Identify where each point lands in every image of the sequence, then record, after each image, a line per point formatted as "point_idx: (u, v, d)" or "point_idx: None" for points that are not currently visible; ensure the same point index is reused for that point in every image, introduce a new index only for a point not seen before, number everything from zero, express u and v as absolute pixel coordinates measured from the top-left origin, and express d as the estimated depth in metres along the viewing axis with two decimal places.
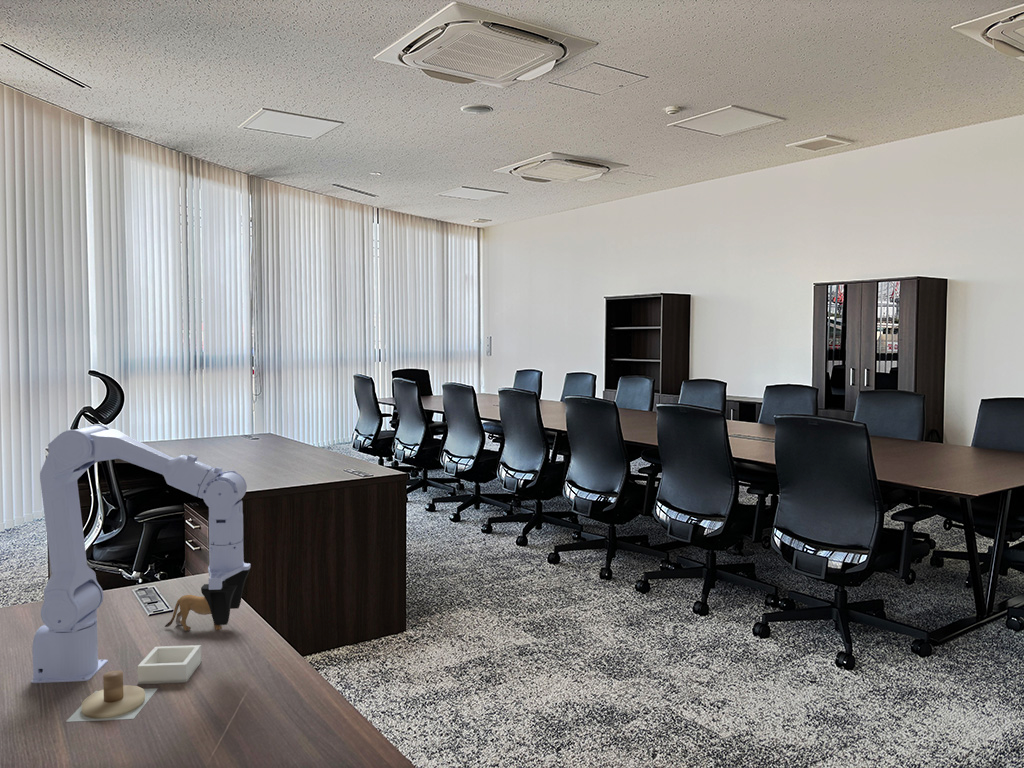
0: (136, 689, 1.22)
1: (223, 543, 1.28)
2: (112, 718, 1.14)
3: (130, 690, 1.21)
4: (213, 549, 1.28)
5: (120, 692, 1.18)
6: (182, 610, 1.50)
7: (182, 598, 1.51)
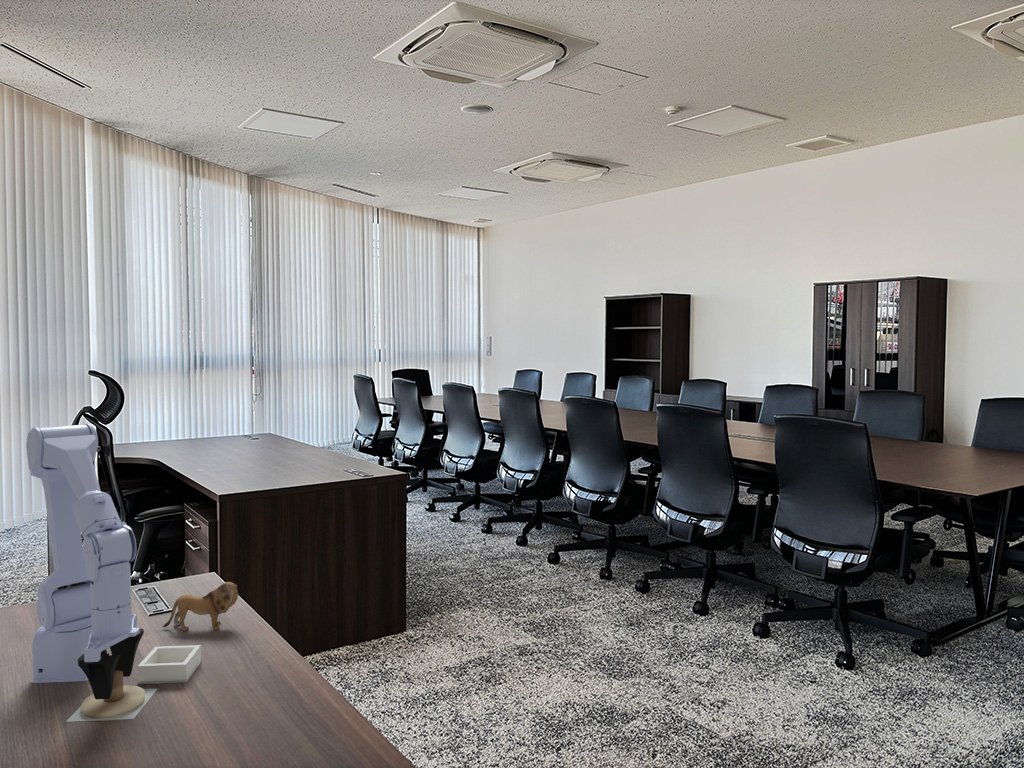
0: (136, 689, 1.22)
1: (92, 607, 1.15)
2: (112, 718, 1.14)
3: (130, 690, 1.21)
4: (94, 614, 1.15)
5: (120, 692, 1.18)
6: (180, 610, 1.50)
7: (180, 598, 1.51)
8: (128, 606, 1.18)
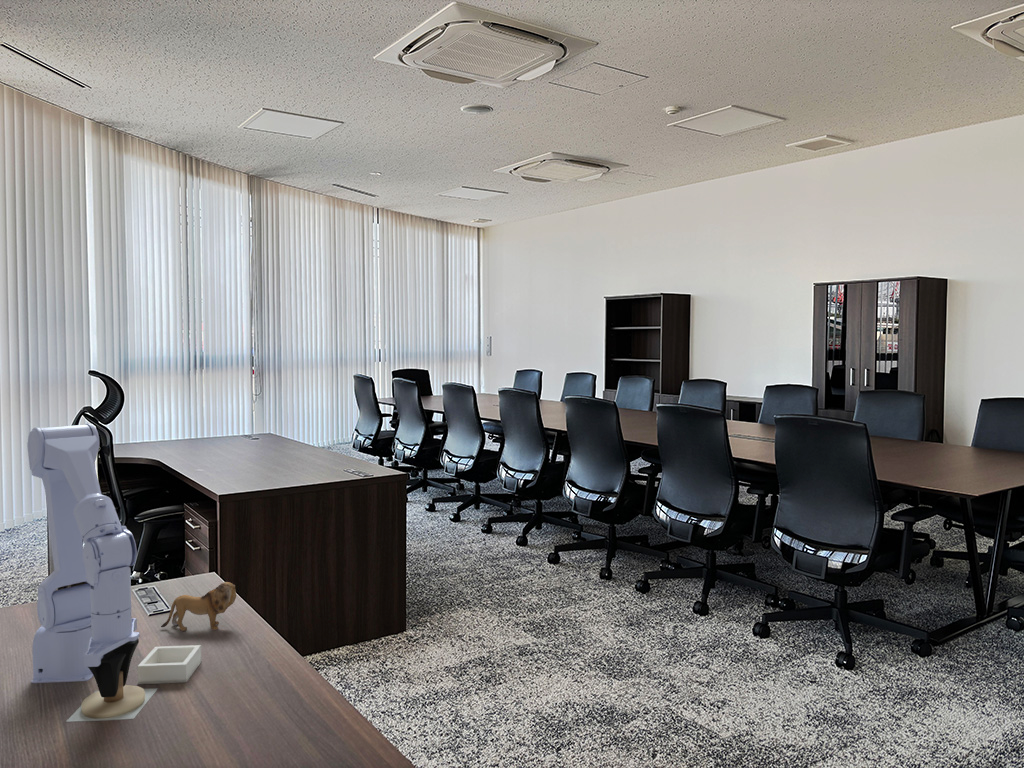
0: (136, 689, 1.22)
1: (93, 611, 1.15)
2: (112, 718, 1.14)
3: (130, 690, 1.21)
4: (94, 619, 1.15)
5: (120, 692, 1.18)
6: (178, 610, 1.50)
7: (178, 598, 1.50)
8: (128, 610, 1.18)
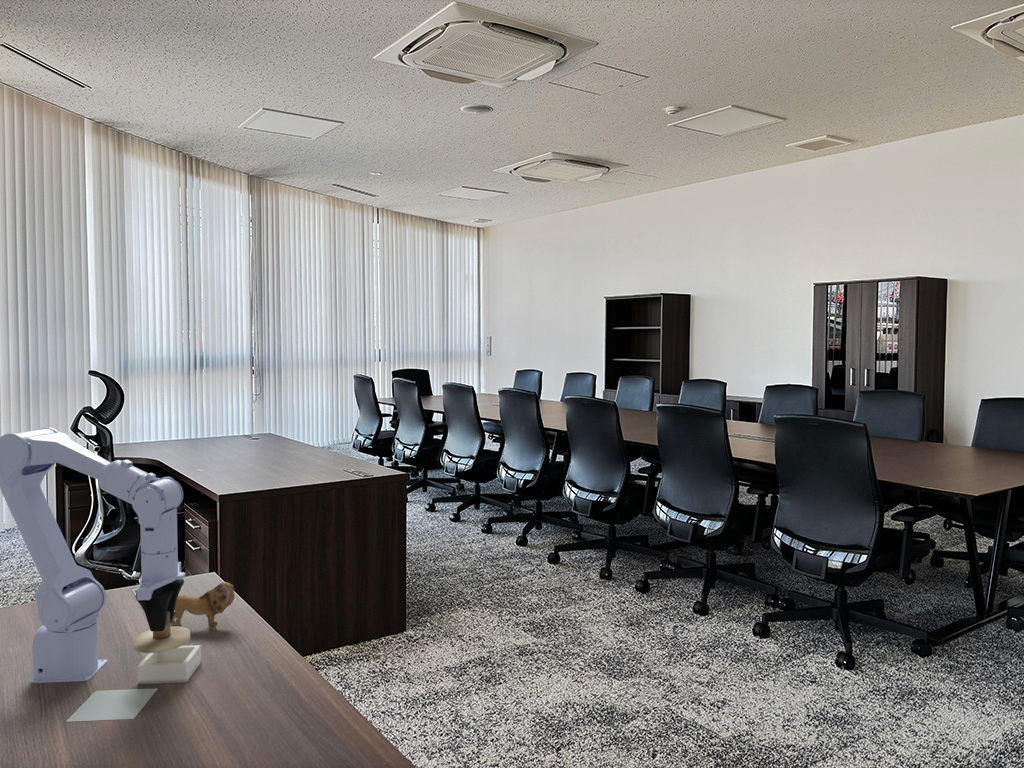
0: (181, 628, 1.31)
1: (151, 552, 1.24)
2: (112, 718, 1.14)
3: (175, 629, 1.31)
4: (144, 558, 1.24)
5: (168, 630, 1.27)
6: (177, 610, 1.50)
7: None
8: (175, 551, 1.27)
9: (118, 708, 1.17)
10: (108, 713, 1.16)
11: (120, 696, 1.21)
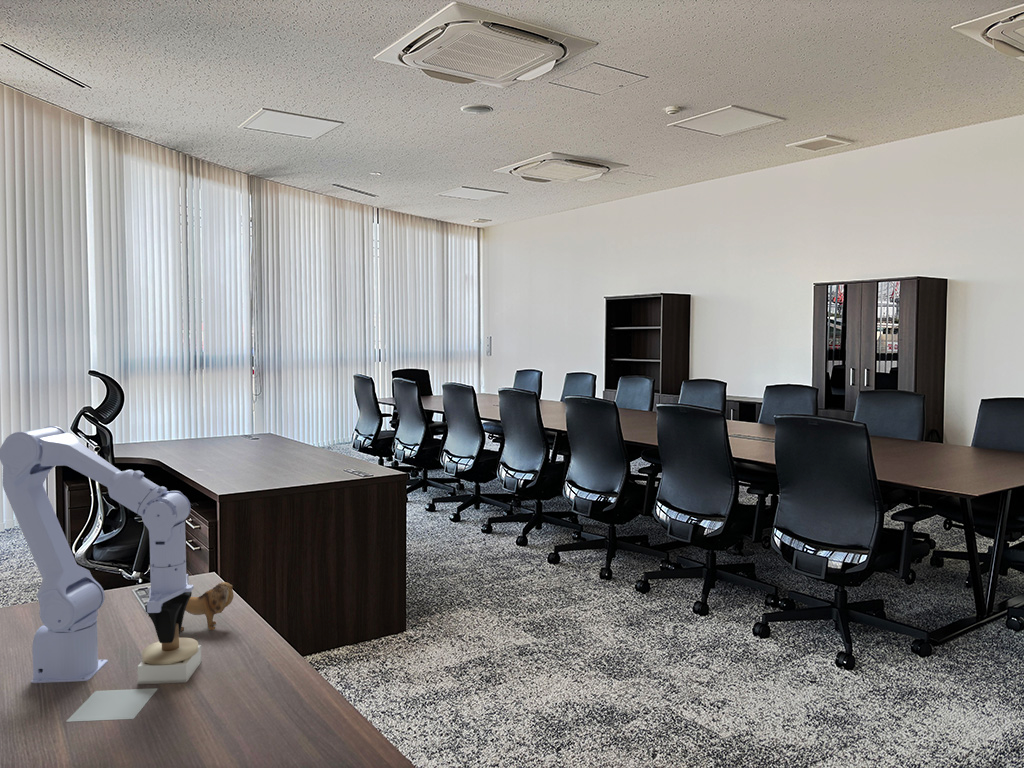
0: (189, 640, 1.33)
1: (162, 565, 1.26)
2: (112, 718, 1.14)
3: (183, 641, 1.33)
4: (154, 571, 1.26)
5: (177, 642, 1.29)
6: None
7: None
8: (184, 564, 1.29)
9: (118, 708, 1.17)
10: (108, 713, 1.16)
11: (120, 696, 1.21)
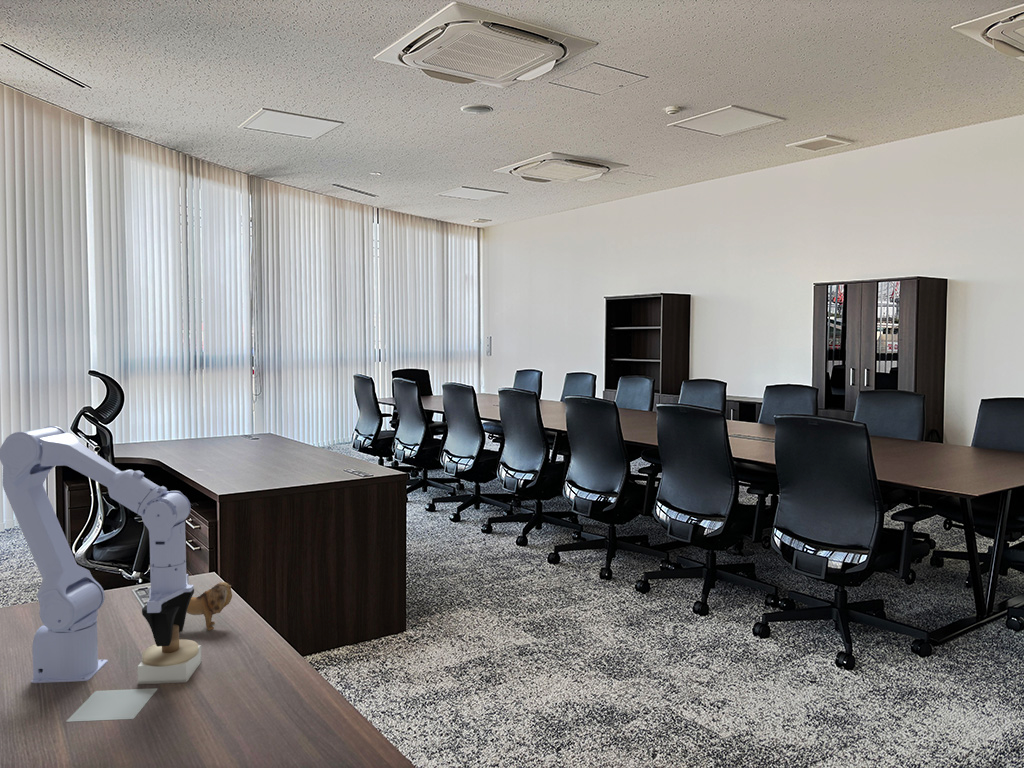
0: (189, 642, 1.33)
1: (162, 565, 1.26)
2: (112, 718, 1.14)
3: (183, 643, 1.33)
4: (154, 571, 1.26)
5: (177, 644, 1.29)
6: None
7: None
8: (184, 564, 1.29)
9: (118, 708, 1.17)
10: (108, 713, 1.16)
11: (120, 696, 1.21)
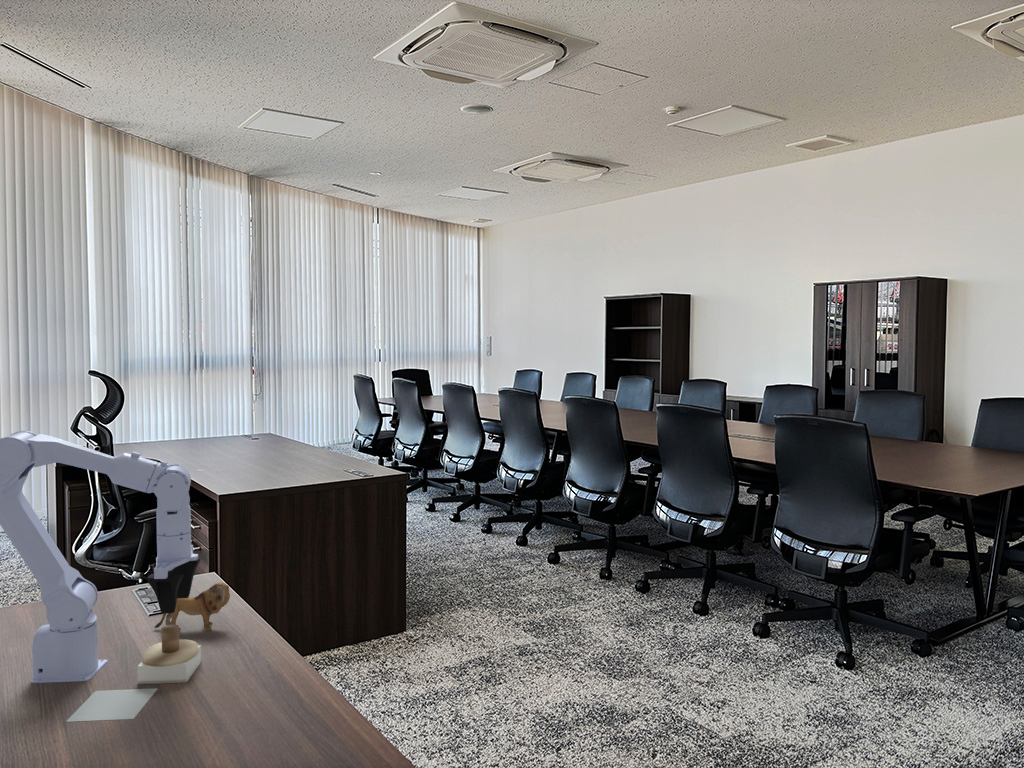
0: (189, 642, 1.33)
1: (175, 534, 1.32)
2: (112, 718, 1.14)
3: (183, 643, 1.33)
4: (160, 540, 1.32)
5: (177, 644, 1.29)
6: None
7: None
8: (189, 534, 1.34)
9: (118, 708, 1.17)
10: (108, 713, 1.16)
11: (120, 696, 1.21)
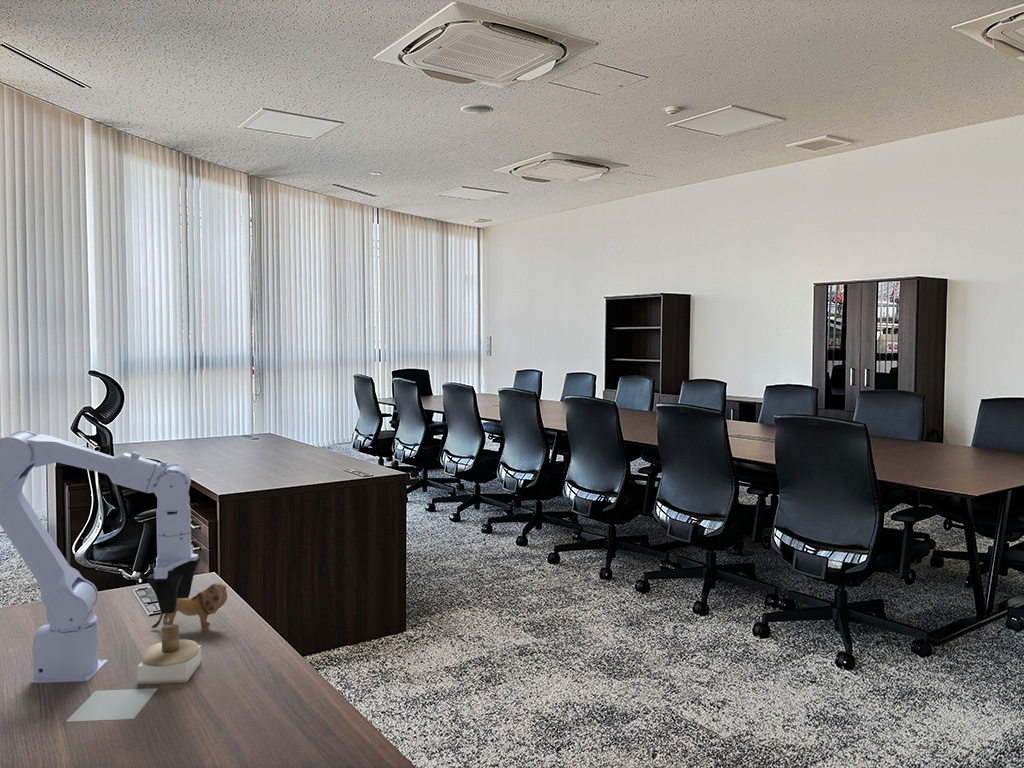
0: (189, 642, 1.33)
1: (175, 534, 1.32)
2: (112, 718, 1.14)
3: (183, 643, 1.33)
4: (160, 540, 1.32)
5: (177, 644, 1.29)
6: None
7: None
8: (189, 534, 1.34)
9: (118, 708, 1.17)
10: (108, 713, 1.16)
11: (120, 696, 1.21)
